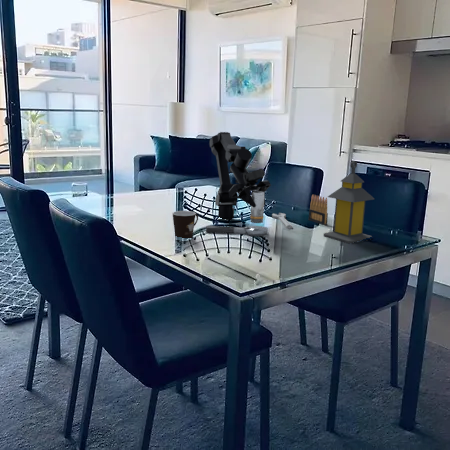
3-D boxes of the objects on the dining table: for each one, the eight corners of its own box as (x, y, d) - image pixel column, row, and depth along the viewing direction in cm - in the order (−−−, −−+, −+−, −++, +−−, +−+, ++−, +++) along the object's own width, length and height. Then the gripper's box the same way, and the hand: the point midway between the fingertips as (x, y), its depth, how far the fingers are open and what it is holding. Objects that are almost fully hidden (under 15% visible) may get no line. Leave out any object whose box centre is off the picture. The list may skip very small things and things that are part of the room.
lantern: (322, 235, 196) (327, 160, 189) (344, 231, 205) (351, 158, 198) (350, 244, 186) (357, 164, 178) (373, 238, 194) (380, 162, 187)
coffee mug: (177, 243, 181) (177, 216, 179) (169, 237, 188) (169, 211, 186) (206, 240, 186) (206, 214, 184) (196, 234, 194) (197, 209, 191)
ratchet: (205, 234, 194) (205, 228, 194) (207, 228, 203) (207, 223, 202) (267, 236, 193) (268, 231, 192) (267, 231, 201) (267, 225, 201)
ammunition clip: (327, 224, 215) (329, 197, 212) (324, 225, 214) (326, 198, 211) (311, 219, 224) (313, 193, 221) (308, 220, 223) (309, 193, 220)
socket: (250, 223, 194) (251, 192, 191) (250, 219, 199) (251, 190, 196) (263, 223, 194) (264, 193, 191) (263, 220, 199) (264, 191, 196)
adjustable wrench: (293, 230, 206) (293, 226, 206) (277, 230, 206) (278, 225, 206) (284, 216, 231) (284, 212, 230) (270, 216, 230) (271, 212, 230)
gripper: (234, 163, 187) (253, 196, 182) (268, 160, 199) (287, 191, 194) (220, 181, 195) (238, 213, 190) (254, 177, 207) (272, 207, 202)
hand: (259, 206), depth 194 cm, fingers closed on socket, 5 cm apart
